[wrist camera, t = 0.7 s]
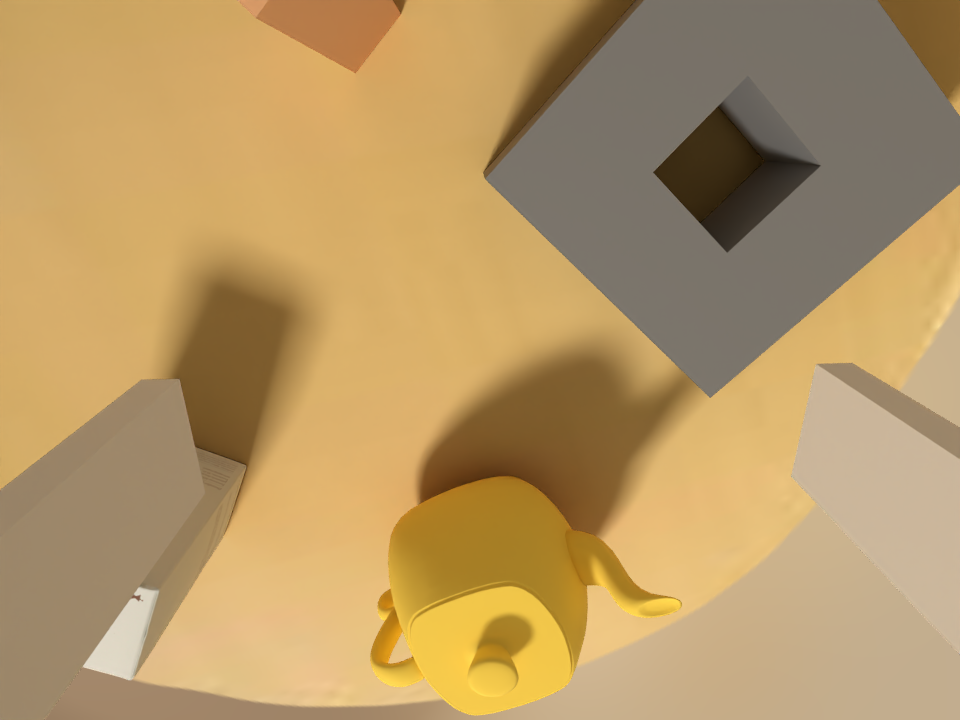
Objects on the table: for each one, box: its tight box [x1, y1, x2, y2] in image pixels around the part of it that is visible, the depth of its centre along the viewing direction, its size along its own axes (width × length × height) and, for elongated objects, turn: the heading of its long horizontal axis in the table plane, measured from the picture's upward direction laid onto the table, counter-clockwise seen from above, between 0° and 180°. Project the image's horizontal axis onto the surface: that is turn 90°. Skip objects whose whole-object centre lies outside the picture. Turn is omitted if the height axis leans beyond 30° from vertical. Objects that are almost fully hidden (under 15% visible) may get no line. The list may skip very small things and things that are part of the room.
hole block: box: [483, 0, 960, 398], centre depth 32 cm, size 18×18×6 cm
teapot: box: [370, 476, 682, 715], centre depth 38 cm, size 14×20×13 cm
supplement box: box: [83, 447, 247, 680], centre depth 37 cm, size 7×7×13 cm
